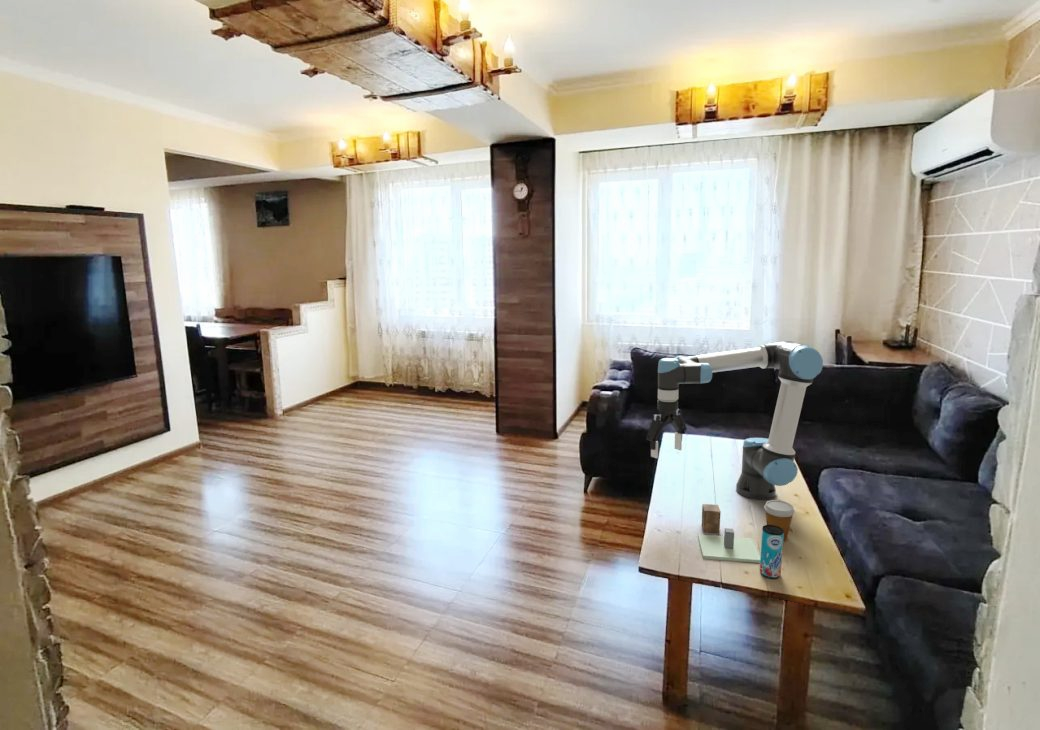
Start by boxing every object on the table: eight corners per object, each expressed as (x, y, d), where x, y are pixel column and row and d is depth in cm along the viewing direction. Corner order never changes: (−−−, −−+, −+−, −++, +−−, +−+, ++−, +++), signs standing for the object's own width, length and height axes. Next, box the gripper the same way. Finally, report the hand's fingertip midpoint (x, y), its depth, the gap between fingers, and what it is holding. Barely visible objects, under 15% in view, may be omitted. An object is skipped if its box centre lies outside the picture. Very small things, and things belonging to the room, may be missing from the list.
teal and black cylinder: (762, 578, 164) (765, 533, 161) (757, 568, 170) (760, 524, 167) (783, 580, 163) (786, 534, 160) (777, 569, 169) (780, 525, 166)
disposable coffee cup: (790, 547, 182) (793, 514, 179) (760, 540, 187) (762, 507, 184) (793, 534, 189) (796, 503, 187) (764, 528, 194) (766, 497, 192)
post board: (752, 541, 186) (753, 522, 185) (761, 563, 172) (763, 543, 171) (697, 537, 189) (698, 518, 188) (703, 558, 176) (704, 538, 175)
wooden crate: (717, 526, 196) (718, 504, 195) (719, 534, 191) (720, 511, 189) (701, 525, 197) (702, 503, 196) (703, 532, 192) (704, 510, 191)
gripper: (681, 392, 211) (679, 443, 215) (637, 403, 197) (636, 457, 201) (697, 395, 205) (695, 448, 209) (652, 407, 191) (651, 463, 195)
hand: (666, 453), depth 205 cm, fingers open, 13 cm apart
